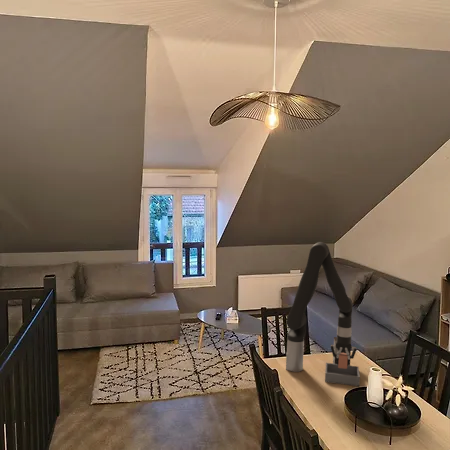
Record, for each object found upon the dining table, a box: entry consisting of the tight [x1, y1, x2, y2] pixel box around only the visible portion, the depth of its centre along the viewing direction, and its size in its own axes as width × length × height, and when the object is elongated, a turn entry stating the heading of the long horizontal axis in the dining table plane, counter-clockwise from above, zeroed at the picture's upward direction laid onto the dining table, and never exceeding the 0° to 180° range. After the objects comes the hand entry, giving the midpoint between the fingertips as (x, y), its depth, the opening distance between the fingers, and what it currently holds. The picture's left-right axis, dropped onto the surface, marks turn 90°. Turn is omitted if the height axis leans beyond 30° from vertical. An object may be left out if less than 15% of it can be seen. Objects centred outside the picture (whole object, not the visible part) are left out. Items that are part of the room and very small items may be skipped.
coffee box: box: [332, 336, 352, 366], centre depth 254 cm, size 9×6×16 cm
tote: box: [324, 362, 361, 387], centre depth 238 cm, size 18×14×5 cm
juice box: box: [338, 353, 348, 369], centre depth 237 cm, size 4×4×7 cm
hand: (342, 364), depth 237 cm, fingers closed on juice box, 4 cm apart
